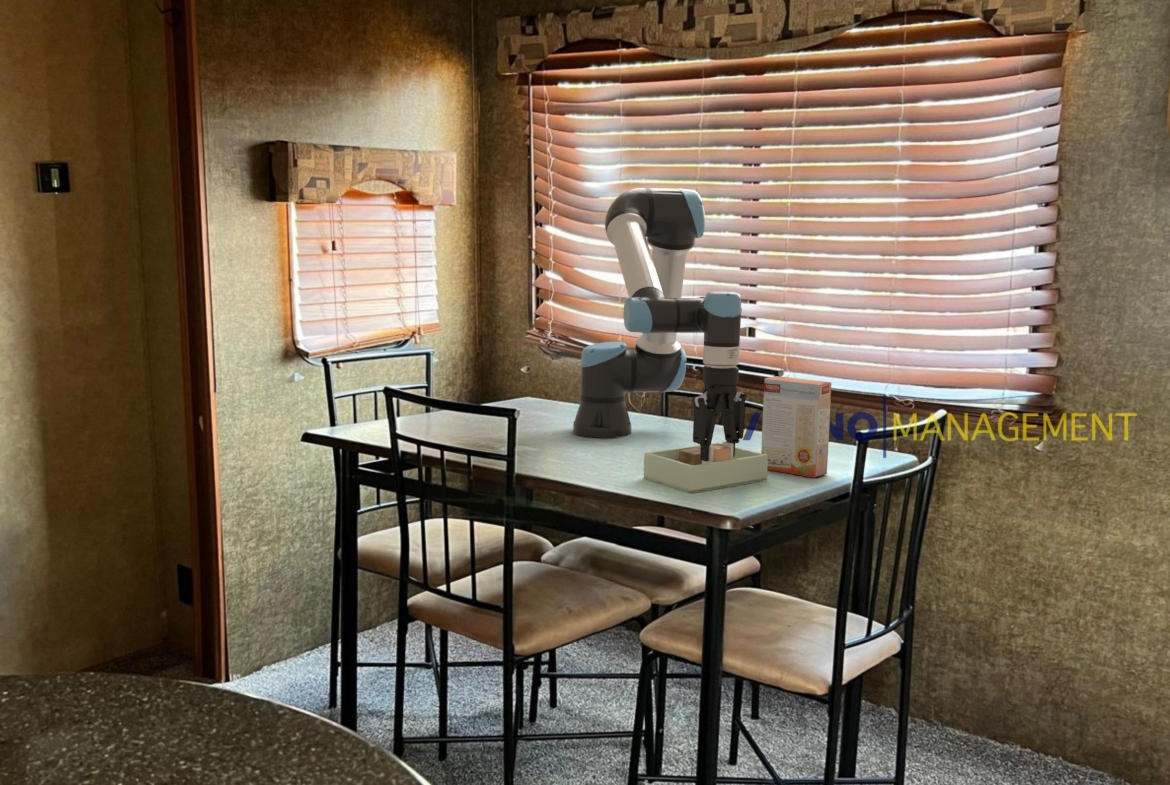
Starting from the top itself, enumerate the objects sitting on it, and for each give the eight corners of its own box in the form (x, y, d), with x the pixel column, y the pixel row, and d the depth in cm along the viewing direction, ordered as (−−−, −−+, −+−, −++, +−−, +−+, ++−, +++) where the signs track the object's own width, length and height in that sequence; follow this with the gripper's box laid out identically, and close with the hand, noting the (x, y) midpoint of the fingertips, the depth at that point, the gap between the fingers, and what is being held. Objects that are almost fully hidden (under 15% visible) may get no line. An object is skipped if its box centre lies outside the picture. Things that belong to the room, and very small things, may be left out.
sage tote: (643, 478, 242) (644, 452, 241) (717, 466, 254) (718, 442, 253) (691, 493, 229) (692, 466, 228) (766, 480, 242) (767, 455, 241)
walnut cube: (678, 472, 245) (679, 450, 244) (696, 469, 248) (696, 447, 247) (693, 477, 241) (694, 454, 240) (711, 474, 244) (711, 452, 243)
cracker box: (828, 474, 248) (833, 381, 245) (814, 479, 244) (819, 384, 241) (773, 464, 257) (777, 374, 254) (759, 468, 253) (763, 377, 250)
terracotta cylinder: (700, 479, 239) (701, 447, 238) (717, 476, 242) (719, 444, 241) (716, 484, 235) (717, 451, 234) (733, 481, 238) (735, 448, 237)
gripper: (700, 370, 227) (697, 482, 230) (764, 364, 237) (759, 472, 241) (676, 366, 233) (673, 475, 236) (739, 361, 243) (735, 465, 247)
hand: (717, 473), depth 239 cm, fingers closed on terracotta cylinder, 5 cm apart
